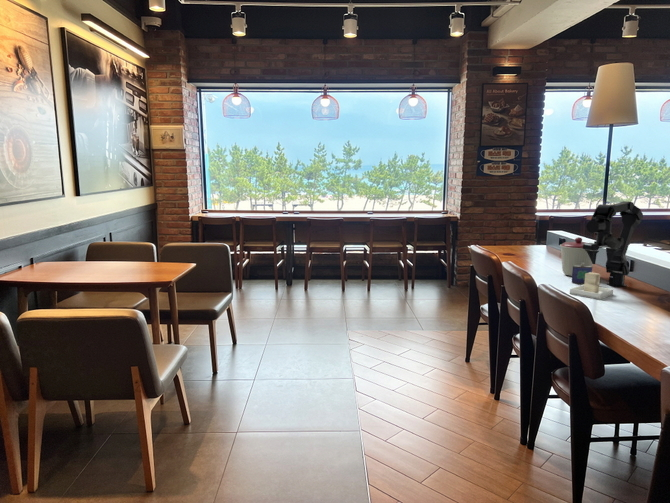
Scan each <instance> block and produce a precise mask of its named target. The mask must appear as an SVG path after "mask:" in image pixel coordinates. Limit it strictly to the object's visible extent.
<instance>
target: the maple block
mask: <svg viewBox="0 0 670 503" xmlns="http://www.w3.org/2000/svg"><path fill="white" fill-rule="evenodd" d="M600 278H601V273H596V272H592V273H591V272H589V273H586V274H585V283H584V291H587V292H593V293H599V287H600V282H601V281H600Z"/></svg>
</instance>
